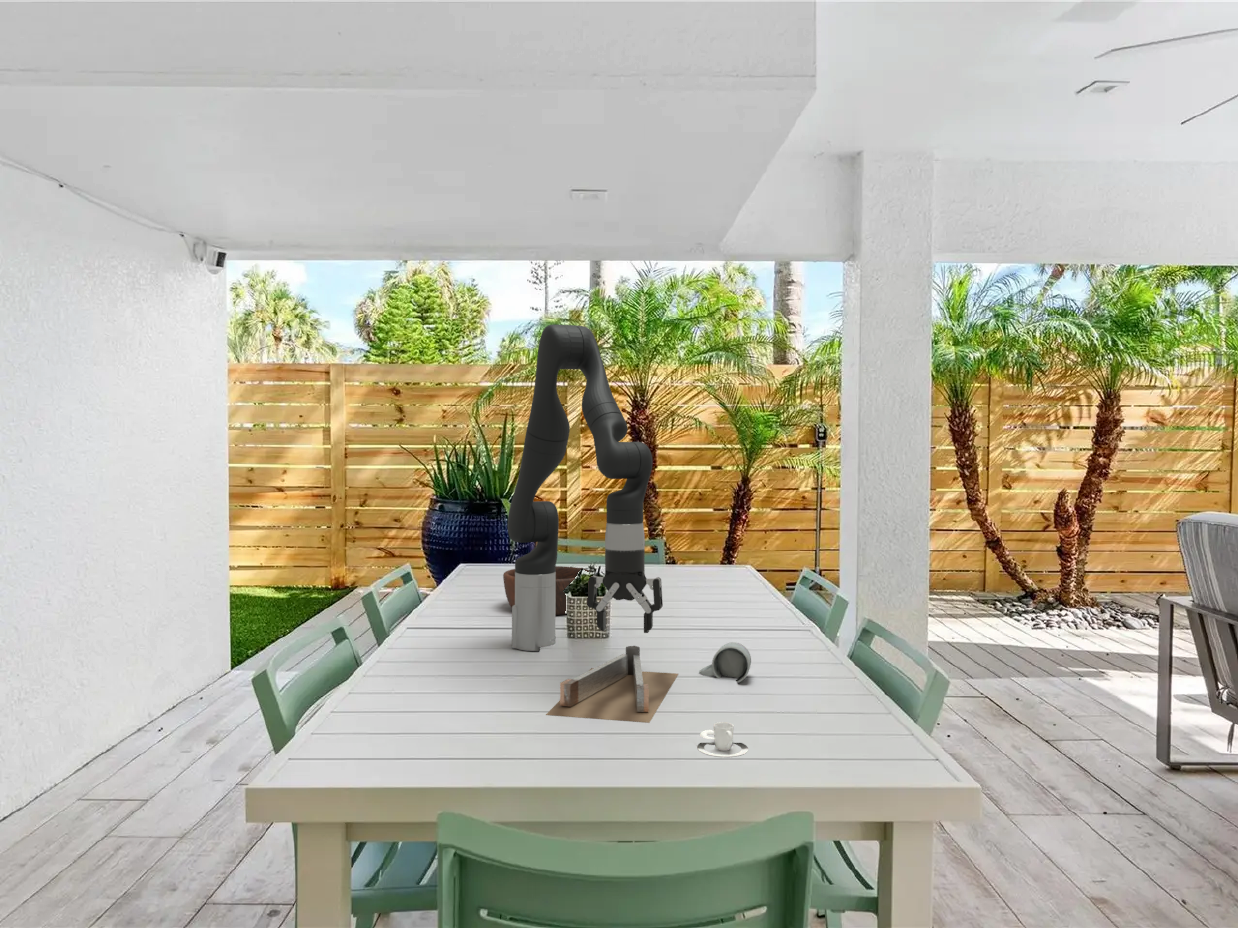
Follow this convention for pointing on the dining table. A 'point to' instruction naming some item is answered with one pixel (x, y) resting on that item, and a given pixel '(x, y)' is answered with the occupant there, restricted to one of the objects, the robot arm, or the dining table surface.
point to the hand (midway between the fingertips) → (624, 631)
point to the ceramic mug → (729, 662)
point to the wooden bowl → (562, 581)
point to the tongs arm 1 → (593, 681)
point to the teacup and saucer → (721, 739)
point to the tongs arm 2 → (640, 686)
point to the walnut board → (621, 697)
